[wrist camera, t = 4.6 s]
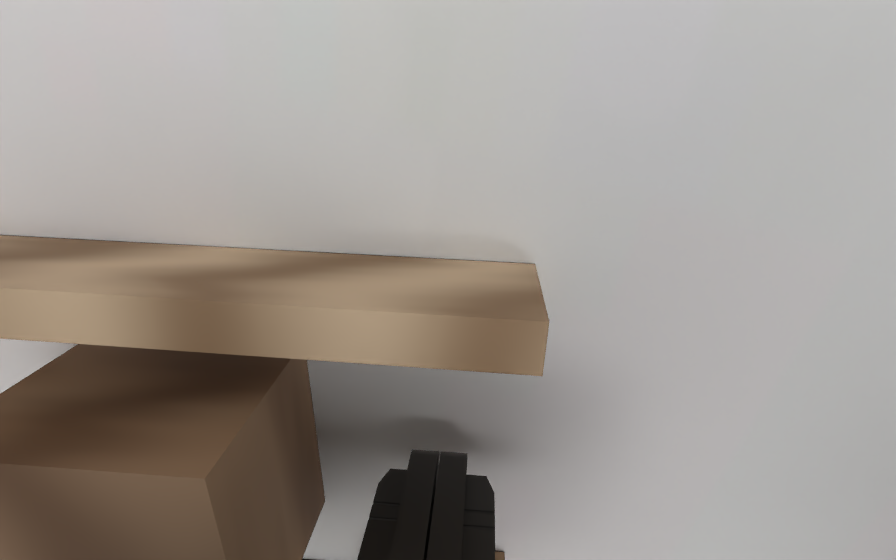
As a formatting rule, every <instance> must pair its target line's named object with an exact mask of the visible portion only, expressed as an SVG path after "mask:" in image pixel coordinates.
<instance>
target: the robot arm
mask: <svg viewBox="0 0 896 560" xmlns="http://www.w3.org/2000/svg"><path fill="white" fill-rule="evenodd" d="M466 470H467V454H465V453H453V452H441V454H440V461H439V452H438V451H426V450H413V449H412V451H411V455H410V460H409V465H408V469H407V470H402V469H390V470H389V471H388V472H387V473H386V475H385V476H384V477H383V478H382V480H381V481H380V482H379V483H378V487H377V490H376V494H375V498H374V501H373V505H372V509H371V512H370V516H369V520H368V523H367V527H366V530H365V534H364V538H363V541H362V545H361V548H360V552H359V556H358V559H357V560H495V515H494V512H495V510H494V491H493V489H492V487H491V485H490V483H489V481H488V479H487V477H486V476H477V475H466Z"/></svg>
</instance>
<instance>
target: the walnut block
mask: <svg viewBox="0 0 896 560" xmlns="http://www.w3.org/2000/svg"><path fill="white" fill-rule="evenodd" d="M324 502H325V496H324V488H323V481H322V473H321V465H320V458H319V450H318V442H317V435H316V427H315V419H314V412H313V404H312V396H311V389H310V381H309V373H308V366H307V360H304V359H289V358H275V357H261V356H246V355H232V354H217V353H203V352H189V351H174V350H160V349H146V348H131V347H117V346H102V345H88V344H78V345H76V346H75V347H73V348H72V349H70V350H68V351H67V352H65V353H64V354H62V355H61V356H59V357H57V358H56V359H54V360H53V361H51V362H50V363H48V364H46V365H45V366H43V367H42V368H40V369H39V370H37V371H35V372H34V373H32V374H31V375H29V376H28V377H26V378H24V379H23V380H21V381H20V382H18V383H17V384H15V385H14V386H12V387H10V388H9V389H7V390H6V391H4V392H3V393H1V394H0V560H302V558H303V555H304V552H305V550H306V547H307V545H308V542H309V540H310V537H311V535H312V532H313V530H314V527H315V525H316V522H317V520H318V517H319V515H320V512H321V510H322V507H323V505H324Z"/></svg>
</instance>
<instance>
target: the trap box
mask: <svg viewBox="0 0 896 560" xmlns="http://www.w3.org/2000/svg"><path fill="white" fill-rule="evenodd" d="M548 328H549V319H548V315H547V311H546V307H545V303H544V299H543V294H542V290H541V286H540V282H539V278H538V274H537V270H536V266H535V264H525V263H506V262H488V261H469V260H451V259H432V258H414V257H395V256H377V255H358V254H340V253H321V252H302V251H284V250H265V249H247V248H228V247H210V246H191V245H173V244H154V243H136V242H117V241H98V240H80V239H61V238H43V237H24V236H6V235H0V338H2V339H16V340H31V341H45V342H59V343H74V344H88V345H102V346H117V347H131V348H146V349H160V350H174V351H189V352H203V353H217V354H232V355H246V356H261V357H275V358H289V359H304V360H318V361H332V362H347V363H361V364H376V365H390V366H404V367H419V368H433V369H447V370H462V371H476V372H491V373H505V374H519V375H534V376H542V375H543V367H544V359H545V352H546V344H547V336H548ZM495 560H505V556H504V552H496V551H495Z"/></svg>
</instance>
